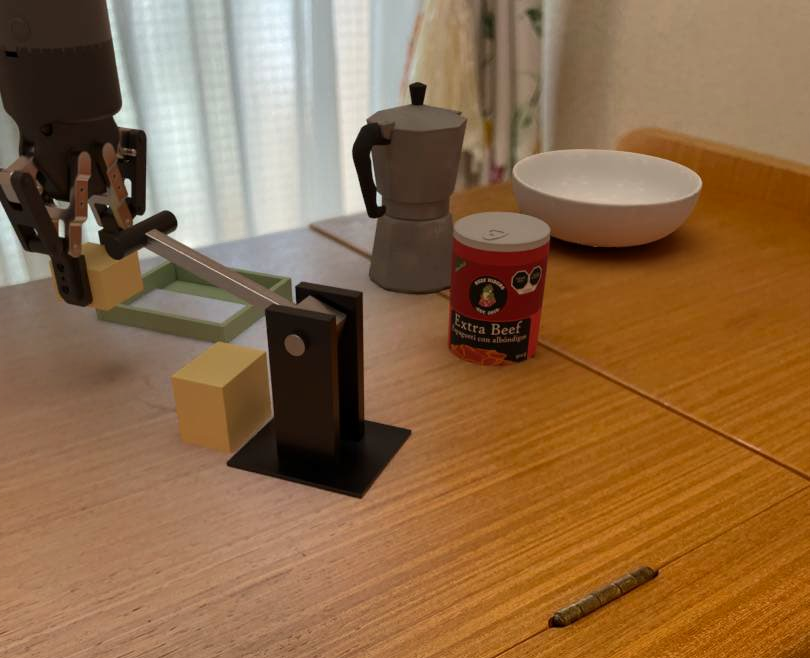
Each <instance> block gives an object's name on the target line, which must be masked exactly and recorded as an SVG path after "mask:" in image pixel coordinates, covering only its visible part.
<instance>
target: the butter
mask: <svg viewBox="0 0 810 658" xmlns="http://www.w3.org/2000/svg"><path fill="white" fill-rule="evenodd" d="M267 356H268V355H267V351H266V350H263V349H258V348H254V347H248V346H242V345H238V344H233V343H223V342H216V343H214V344H212V345H211V346H210V347H209V348H207V349H205V350H204V351H203V352H201V353H200V354H199V355H197V356H196V357H194V358H193V359H192V360H190V361H189V362H188V363H187V364H185V365H184V366H183V367H180V369H179V370H178V371H175V373H173V374H172V375H171V376H170V378H171V386H172V390H173V391H172V392H173V397H174V403H175V408H176V415H177V422H178V427H179V434H180V440H181V443H185V444H190V445H194V446H198V447H203V448H207V449H211V450H215V451H219V452H223V453H226V454H232V453H233V452H234V451H235V450H236V449H237V448H238V447H239V446H240V445H241V444H242V443H243V442H244V441H245V440H247V438H248V437H250V435H252V434H253V433H254V432H255V431H256V430H257V429H258V428H259V427H260V426H261V425H262V424H263V423H264V422H265V421H266V420H267V419H269V417H271V416H272V414H273V413H272V403H271V402H272V401H271V391H270V381H269V369H268V357H267Z"/></svg>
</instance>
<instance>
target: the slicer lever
mask: <svg viewBox="0 0 810 658" xmlns="http://www.w3.org/2000/svg"><path fill="white" fill-rule="evenodd" d="M178 225H179V221H178V219H177V216H176V215H175V214H174V213H173V212H172V211H170V210H167V209H163V210H161V211H159V212H157V213H155V214H153V215H151V216H148V217H147V218H145V219H143V220H141V221H139V222H137V223H135V224H133V226H131V227H129V228H127V229H125V230H123V231H121V232H119V233H117V234H115V235H113V236H111V237H108V238H107V239H106V241H105V250H106V252H107V254H108V255H109V256H110V257H111V258H112V259H114V260H121V259H123V258H125V257H127V256H129V255H130V254H132V253H134V252H136V251H137V252H138V251H140V250H142V249H143V248H144V249H146V250H148V251H150V252H152V253H154V254H155V255H157V256H160V257H161V258H162V259H165V260H166V261H167V260H169V261H170V262H172V263H174V264H176V265H178V266H180V267H182V268H184V269H185V270H187V271H189V272H191V273H193V274H195V275H197V276H198V277H200V278H202V279H204V280H206V281H208V282H210V283H212V284H213V285H215V286H217V287H219V288H221V289H223V290H225V291H227V292H228V293H230V294H232V295H234V296H236V297H238V298H240V299H241V300H243V301H245V302H247V303H249V304H251V305H253V306H255V307H256V308H258V309H260V310H262V311H264V312H265V309H266V308H267V307H268V306H270V305H271V304H277V305H283V306H288V307H294V308H299V309H305V310H310V311H316V312H321V313H327V314H332V315H336V331H337V345H338V342H339V339H340V336H341V333H342V330H343V326H344V323H345V320H346V317H347V315H346V314H344V313H342V312H340V311H338V310H336V309H334V308H333V307H331V306H329V305H327V304H325V303H323V302H321V301H319V300H317V299H316V298H314V297H312V296H308V297H307V298H305V299H304V300H303V301H302V302H300V303H299V304H298V305H297V304H296V302H294V301H293V302H291V301H289V300H287V299H286V298H284V297H282V296H280V295H278V294H276V293H274V292H272V291H271V290H269V289H267V288H265V287H263V286H261V285H259V284H257V283H255V282H254V281H252V280H250V279H248V278H246V277H244V276H242V275H240V274H239V273H237V272H235V271H233V270H231V269H229V268H227V267H228V266H226V265H224V264H222V263H220V262H218V261H216V260H214V259H212V258H210V257H209V256H206V255H204V254H203V253H201V252H199V251H197V250H195V249H193V248H191V247H190V246H188V245H186V244H184V243H182V242H181V241H179V240H176V239H174V238H173V237H171V236H169V235H170V234H172V233H174V232H175V231H177V229H178Z"/></svg>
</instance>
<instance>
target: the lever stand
mask: <svg viewBox="0 0 810 658" xmlns="http://www.w3.org/2000/svg"><path fill="white" fill-rule="evenodd" d="M294 291H295V293H294V294H295V304H297V305H298V304H299V303H300V302H302V301H303V300H304V299H305V298H307V297H308V296H312V297H314V298H316V299H317V300H319V301H321V302H323V303H325V304H327V305H329V306H331V307H333V308H334V309H336V310H338V311H340V312H342V313H344V314H346V315H347V317H346V320H345V323H344V326H343V330H342V333H341V336H340V339H339V342H338V345H337V331H336V315H332V314H327V313H321V312H316V311H310V310H305V309H299V308H294V307H288V306H283V305H277V304H271V305H270V306H268V307H267V308H266V309H265V315H264V317H265V328H266V338H267V339H266V340H267V349H268V350H267V352H268V363H269V377H270V386H271V398H272V409H273V417H272V418H271V419H270V420H269V421H268V422H267V423H266V424H265V425H264V426H263V427H262V428H261V429H260V430H258V431H257V432H256V434H255V435H253V436H252V437H251V438H250V439H249V440H248V441H247V442H246V443H245V444H244V445H243V446H242V447H241V448H240V449H239V450H238V451H236V453H235V454H233V455H232V456H231V458H229V459H228V460H227V461H226V466H227V467H229V468H234V469H237V470H241V471H245V472H249V473H254V474H257V475H261V476H266V477H270V478H273V479H278V480H281V481H286V482H290V483H294V484H298V485H303V486H305V487H310V488H314V489H319V490H322V491H325V492H331V493H335V494H339V495H343V496H348V497H351V498H355V499H359V500H362V499H363V497H364V496H365V495H366V493H367V492H368V491H369V489H370V488H371V487H372V486H373V484H374V483H375V482H376V480H377V479H378V478H379V477H380V475H381V474H382V473H383V471H384V470H385V469H386V468H387V466H388V465H389V464H390V463H391V461H392V460H393V458H395V456H396V455H397V453H398V452H399V451H400V450H401V448H402V447H403V445H404V444H405V443H406V442H407V440H408V439H409V438H410V436H411V435H412V431H413V429H409V428H404V427H400V426H396V425H391V424H387V423H381V422H377V421H373V420H369V419H368V420H367V419H365V416H366V415H365V364H364V363H365V359H364V358H365V357H364V356H365V354H364V353H365V352H364V348H365V345H364V291H359V290H354V289H349V288H343V287H337V286H331V285H325V284H319V283H314V282H308V281H302V280H301V281H300V282H299V283H298V284H296V285H295V286H294Z"/></svg>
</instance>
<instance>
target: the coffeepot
mask: <svg viewBox="0 0 810 658" xmlns="http://www.w3.org/2000/svg"><path fill="white" fill-rule="evenodd" d="M427 87H428V85H427V84H425V83H423V82H420V81H415V82H412V83H410V84H409V85H408V88H409V90H408V91H409V96H410V103H409V104H403V105H399V106H395V107H391V108H386V109H385V108H384V109H381V110H377V111H376V112H375V113H373V114H372V115H370V116H369V117H368V118H366V119H365V121H366V124H364V125H363V126H361V127H360V129H359V130H358V131H359V132H358V134H357V136H356V138H355V140H354V142H353V144H352V148H351V156H352V157H351V158H352V162H353V164H354V168H355V172H356V175H357V179H358V184H359V188H360V192H361V196H362V199H363V203H364V207H365V210H366V214H367V217H368V218H369V219H377V220H376V226H375V233H374V239H373V244H372V251H371V256H370V257H371V258H370V264H369V270H368V277H369V278H370V279H371V281H373V283H374V284H376V285H377V286H379V287H381V288H383V289H385V290H388V291H391V292H395V293H402V294H430V293H436V292H440V291H442V290H445V289H448V288H450V283H451V262H452V245H453V232H454V221H453V214H452V213H451V212H450V202H451V201H450V200H451V199H450V198H451V196H452V195H453V194H454V191H455V188H456V182H457V178H458V172H459V168H460V161H461V156H462V151H463V146H464V142H465V141H464V140H465V135H466V129H467V124H468V117H465V116H463V115H462V114H463V111H462V110H456V109H451V108H445V107H439V106H432V105H428V104H424V103H425V98H426V93H427V92H426V91H427V89H428V88H427ZM373 174H374V176H373ZM374 180H375V181H374ZM377 194H379V195H381V205H378V202H377V201H378V200H377V196H378V195H377Z"/></svg>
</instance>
